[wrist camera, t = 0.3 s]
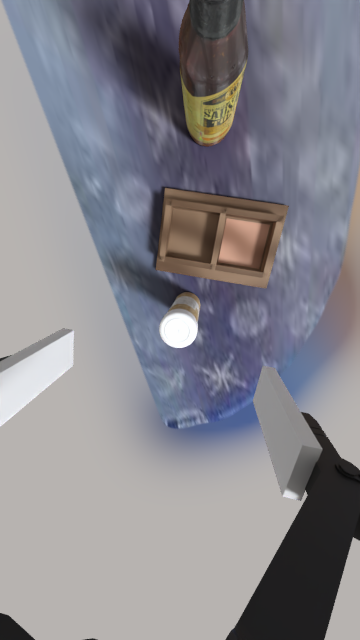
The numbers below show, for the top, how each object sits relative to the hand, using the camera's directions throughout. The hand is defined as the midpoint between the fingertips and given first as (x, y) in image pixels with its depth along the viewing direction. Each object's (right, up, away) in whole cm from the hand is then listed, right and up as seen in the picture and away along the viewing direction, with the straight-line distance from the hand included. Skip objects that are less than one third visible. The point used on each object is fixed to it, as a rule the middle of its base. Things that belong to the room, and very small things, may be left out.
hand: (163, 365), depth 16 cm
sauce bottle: (+5, +30, +16) cm, 35 cm away
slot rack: (+7, +16, +20) cm, 27 cm away
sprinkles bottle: (+2, +6, +24) cm, 25 cm away
